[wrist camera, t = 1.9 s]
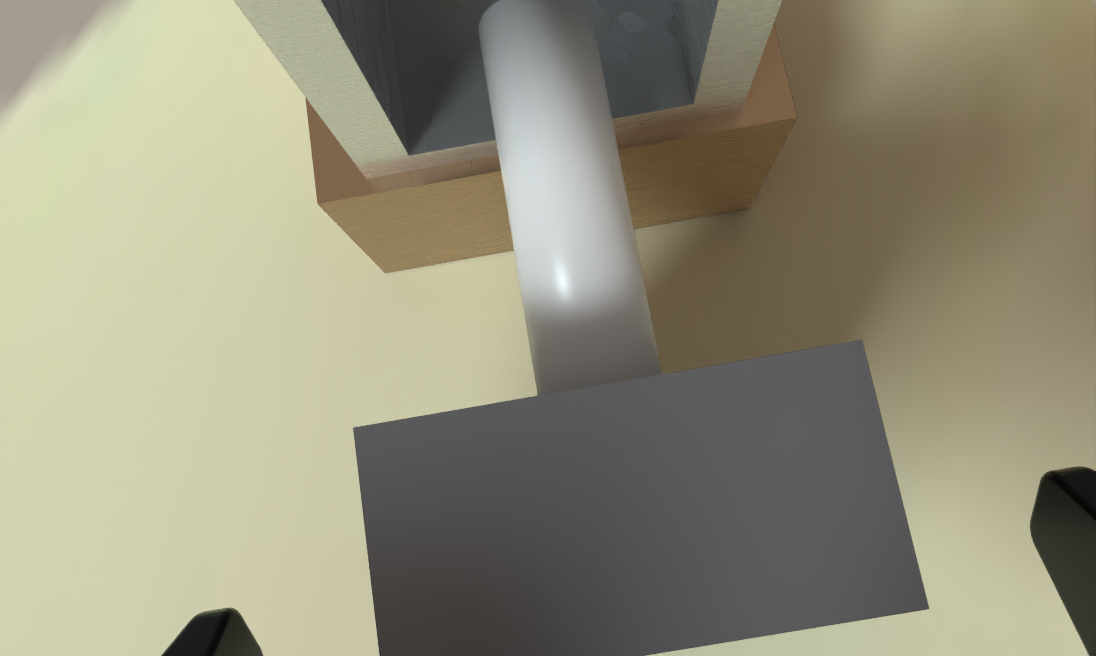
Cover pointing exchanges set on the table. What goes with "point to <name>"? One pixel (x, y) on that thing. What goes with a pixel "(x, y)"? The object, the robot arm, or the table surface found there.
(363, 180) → the grey brown block
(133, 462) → the table surface
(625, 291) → the plunger
